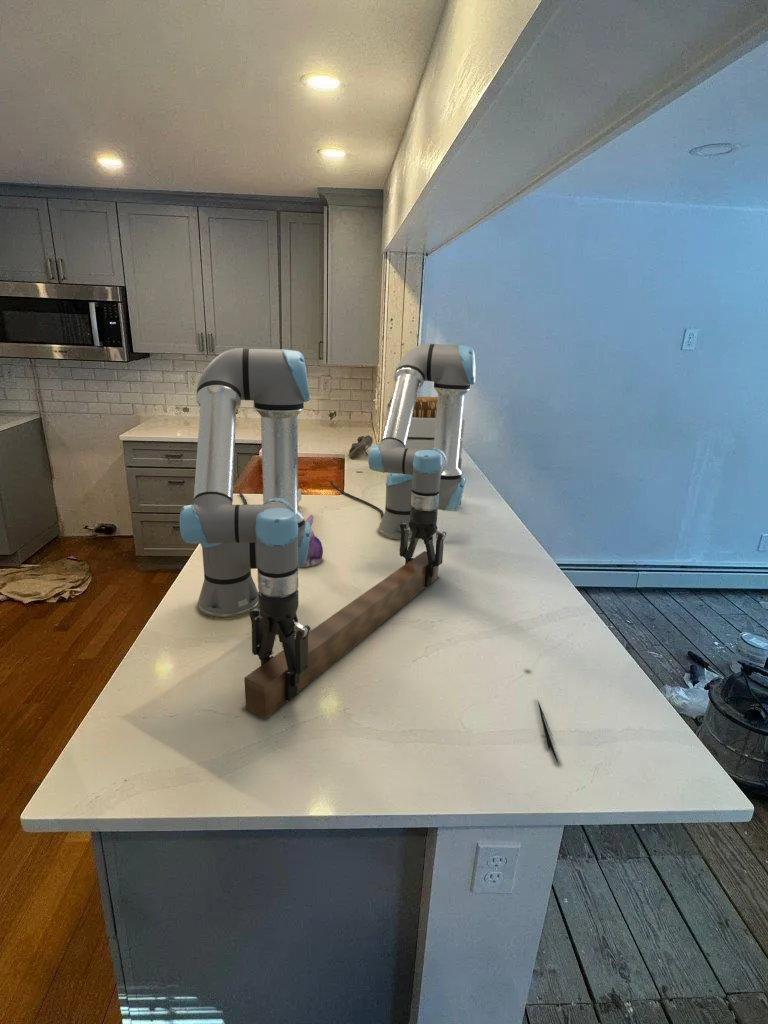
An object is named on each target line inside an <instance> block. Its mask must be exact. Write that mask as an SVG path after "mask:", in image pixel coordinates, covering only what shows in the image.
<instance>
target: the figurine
mask: <svg viewBox="0 0 768 1024" xmlns="http://www.w3.org/2000/svg"><path fill="white" fill-rule="evenodd" d="M314 518H315V517H314V514H312V513H311V514H310V515H309V516H308V517H307V519H306V520H305V519H304V522H305V521H306V522H308V523H309V524H310V536H309V548H308V554H307V559H306V562H305V564H304V565H303V566H301V567H303V568H308V567H310V566H312V567H313V566H316V565H318V564H321V562H322V561H323V554H324V548H323V544H322V542H321V540H320V538H318V536H315V532H314V530H313V528H312V525H313V523H314Z"/></svg>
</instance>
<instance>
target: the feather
mask: <svg viewBox="0 0 768 1024" xmlns="http://www.w3.org/2000/svg"><path fill="white" fill-rule="evenodd" d="M528 671H530V670H529V669H527V672H528ZM537 705H538V708H539V712H540V713H539V714H540V718H541V719H540V720H541V722H542V728H543V731H544V735H545V740H546V743H547V747H548V749H551V752H552V754H553V756H554V759H555V760H556V762H557V763H559V761H558V758H557V755H556V751H555V749H554V746H556V741H554V743H553V742H552V740H555V739H554V735H553V733H552V732H549V730H551V728H550V727H549V723H548V721H547V719H546V717H545V714H544V711H543V708H542V707H541V705H540V702H539V701H537ZM553 745H554V746H553Z"/></svg>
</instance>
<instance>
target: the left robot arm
mask: <svg viewBox="0 0 768 1024" xmlns="http://www.w3.org/2000/svg"><path fill="white" fill-rule="evenodd" d="M195 395H196V396H195V399H196V403H197V405H198V406H199V407H200V409H199V420H198V421H199V422H198V432H197V433H198V434H197V446H196V447H197V448H196V460H195V476H194V487H193V488H194V490H193V503H192V504H189V505H183V506H182V507H181V508H180V513H179V532H180V536H181V539H182V541H183V542H185V543H186V544H197V545H200V547H201V551H202V565H203V577H204V578H203V582H202V586H201V590H200V593H199V596H198V609H199V611H200V612H201V613H202V614H204V615H205V616H208V617H210V618H214V619H234V618H239V617H243V616H245V615H249V618H250V625H251V653H252V654H253V656H258V660H260V666H261V665H263V664H264V663H266V662H267V661H268V660H270V659H271V658H273V657H274V656H273V654H274V653H275V652H274V651H273V650H274V649H273V648H274V646H275V641H276V636H277V637H278V640H279V642H280V643H281V644H282V648H283V650H284V654H285V658H286V662H287V666H288V671H287V672H285V684H286V700H287V701H286V702H290V701H291V700H293V699H294V698H295V697H296V696H298V692H297V685H298V684H299V683H300V674H301V673H303V672H304V671H305V670H306V669H308V634H309V632H310V631H311V627H310V626H309V624H306V625H302V623H300V622H299V617H298V614H297V610H298V608H299V590H298V589H299V568H301V567H302V566H303V565H304V564H305V562H306V559H307V554H308V548H309V536H310V524H309V523H308V522H306V520H305V515H304V514H303V513H302V512H301V511H300V510H299V507H298V505H299V503H298V490H299V460H298V459H299V451H298V447H299V444H298V442H299V441H298V439H299V437H298V436H299V435H298V416H299V415H300V414H301V413H302V411H304V409H305V408H304V405H305V403H307V402H310V399H311V398H310V389H309V381H308V372H307V366H306V361H305V357H304V355H303V354H302V352H300V351H298V350H292V349H285V348H281V349H279V348H278V349H277V348H273V349H272V348H269V349H268V348H244V347H242V348H241V347H236V348H231V349H228V350H225V351H224V352H222V353H220V354H219V355H217V356H216V357H215V358H213V359H212V360H211V362H209V363H208V365H207V366H206V368H205V369H204V370H203V371H202V374H201V376H200V377H199V380H198V383H197V387H196V393H195ZM242 401H252V402H253V409H254V410H255V411H256V412H257V413H258V414H259V416H260V433H261V434H260V436H261V466H262V497H263V498H262V500H263V501H262V503H263V504H248V503H247V500H246V497H245V496H244V495H243V493H242V492H239V496H240V498H241V499H242V501H243V504H233V501H234V480H235V479H234V477H235V476H234V475H235V448H236V447H235V446H236V420H237V410H239V408H240V407H241V405H242ZM304 520H305V522H304ZM252 570H257V586H256V584H255V581H254V579H253V577H252Z"/></svg>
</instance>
